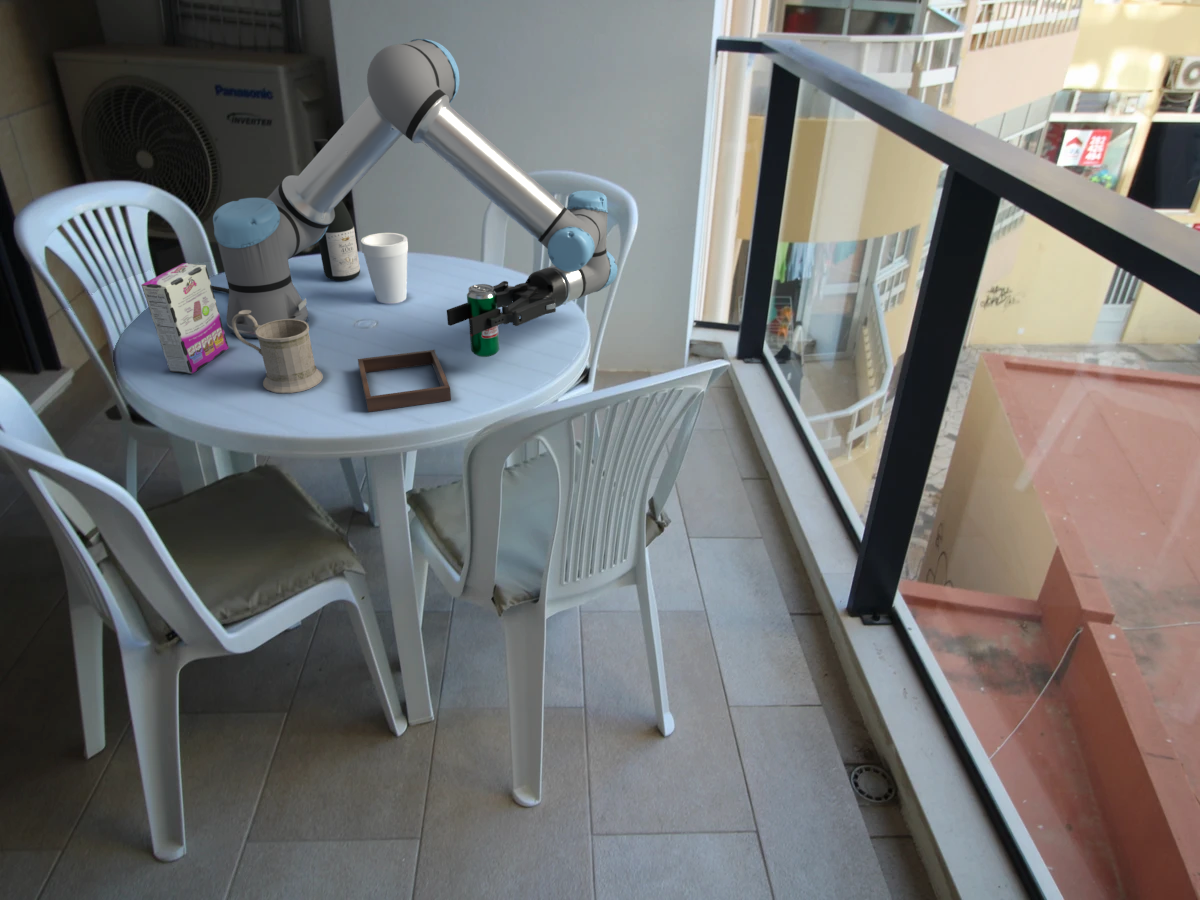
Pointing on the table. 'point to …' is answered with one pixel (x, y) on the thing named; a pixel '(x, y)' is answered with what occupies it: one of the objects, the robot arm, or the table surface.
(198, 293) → the candy bar box
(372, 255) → the foam cup
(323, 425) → the table surface
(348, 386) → the table surface
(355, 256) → the wine bottle
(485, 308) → the soda can
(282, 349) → the mug
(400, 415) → the table surface
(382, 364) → the square wooden frame
